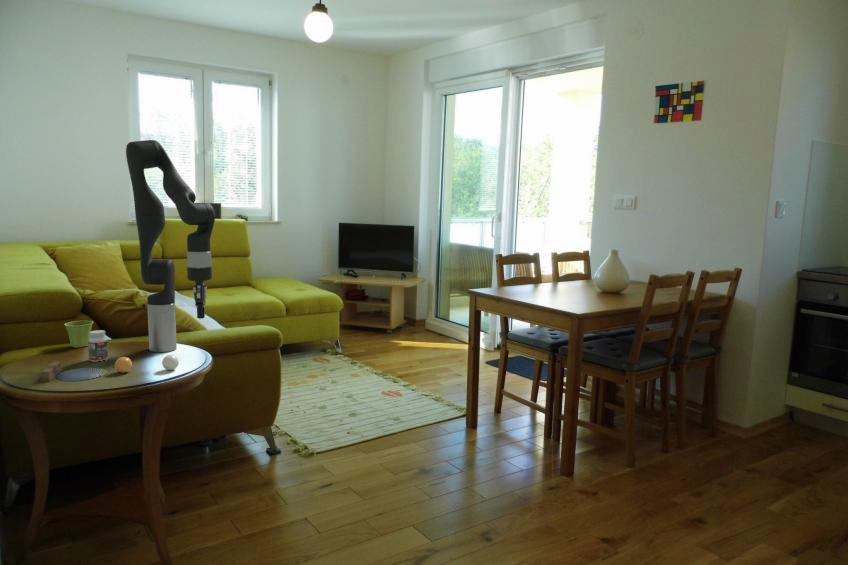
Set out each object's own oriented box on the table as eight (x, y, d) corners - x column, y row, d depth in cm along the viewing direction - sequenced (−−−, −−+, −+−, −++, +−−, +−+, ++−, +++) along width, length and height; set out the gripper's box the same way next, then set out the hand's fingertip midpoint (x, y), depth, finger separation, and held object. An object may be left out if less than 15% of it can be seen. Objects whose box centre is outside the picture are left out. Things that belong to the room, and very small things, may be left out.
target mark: (64, 369, 199) (63, 368, 199) (111, 367, 203) (111, 366, 203) (50, 382, 186) (50, 381, 186) (101, 379, 189) (101, 379, 189)
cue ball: (163, 368, 203) (163, 353, 202) (179, 367, 204) (179, 352, 203) (161, 372, 198) (160, 357, 197) (178, 371, 199) (177, 356, 199)
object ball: (117, 370, 199) (116, 355, 198) (133, 369, 200) (133, 354, 200) (113, 375, 194) (112, 359, 194) (130, 374, 196) (130, 358, 195)
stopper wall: (54, 370, 197) (53, 361, 197) (61, 370, 198) (60, 361, 198) (42, 381, 186) (41, 372, 186) (49, 381, 187) (48, 371, 186)
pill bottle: (100, 362, 207) (98, 334, 206) (85, 361, 208) (83, 332, 207) (111, 358, 213) (110, 330, 212) (97, 357, 214) (95, 329, 213)
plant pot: (61, 349, 223) (60, 326, 222) (71, 343, 232) (69, 320, 231) (90, 348, 225) (88, 325, 224) (98, 342, 234) (96, 320, 233)
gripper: (189, 263, 204) (190, 314, 206) (184, 267, 191) (186, 322, 194) (213, 263, 206) (214, 314, 208) (210, 267, 193) (211, 321, 196)
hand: (200, 318), depth 201 cm, fingers closed
